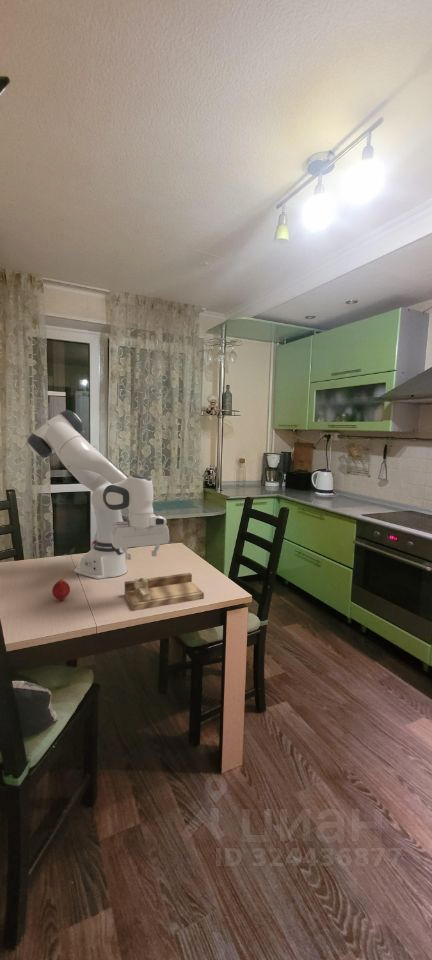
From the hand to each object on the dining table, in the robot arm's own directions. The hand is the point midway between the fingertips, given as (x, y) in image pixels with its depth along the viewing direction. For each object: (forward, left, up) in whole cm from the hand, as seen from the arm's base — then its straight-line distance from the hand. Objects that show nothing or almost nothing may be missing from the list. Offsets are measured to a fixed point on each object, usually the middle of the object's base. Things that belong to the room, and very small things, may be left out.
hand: (141, 557), depth 137 cm
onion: (-25, -13, -15) cm, 32 cm away
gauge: (+2, -2, -13) cm, 13 cm away
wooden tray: (+7, +4, -15) cm, 17 cm away
